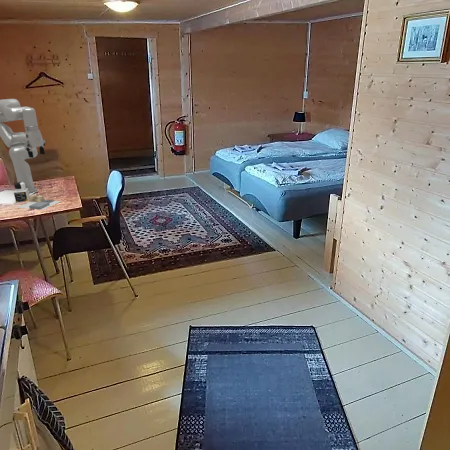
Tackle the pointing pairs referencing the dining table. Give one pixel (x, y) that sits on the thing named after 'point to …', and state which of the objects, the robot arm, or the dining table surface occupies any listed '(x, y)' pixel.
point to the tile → (39, 205)
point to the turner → (38, 199)
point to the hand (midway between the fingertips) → (37, 155)
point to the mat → (36, 202)
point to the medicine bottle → (21, 192)
